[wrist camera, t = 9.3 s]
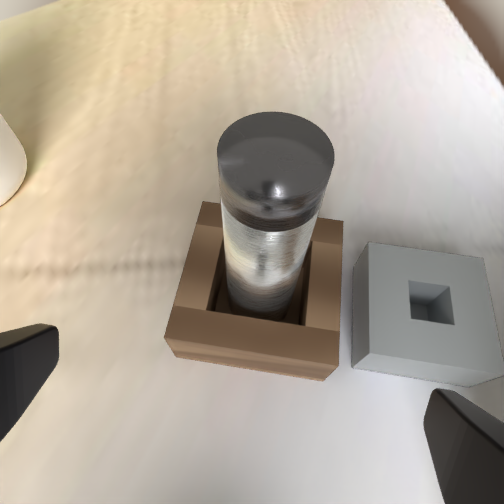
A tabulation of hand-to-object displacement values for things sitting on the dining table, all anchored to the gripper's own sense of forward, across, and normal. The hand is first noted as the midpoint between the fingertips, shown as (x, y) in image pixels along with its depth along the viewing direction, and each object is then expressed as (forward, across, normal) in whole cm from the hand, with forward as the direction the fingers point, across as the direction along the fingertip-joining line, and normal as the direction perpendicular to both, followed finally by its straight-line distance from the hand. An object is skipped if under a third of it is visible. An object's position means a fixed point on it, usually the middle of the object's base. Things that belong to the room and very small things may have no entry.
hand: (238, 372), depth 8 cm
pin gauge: (+14, 0, +4) cm, 15 cm away
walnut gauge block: (+15, 0, +4) cm, 16 cm away
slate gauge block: (+15, -10, +4) cm, 18 cm away
